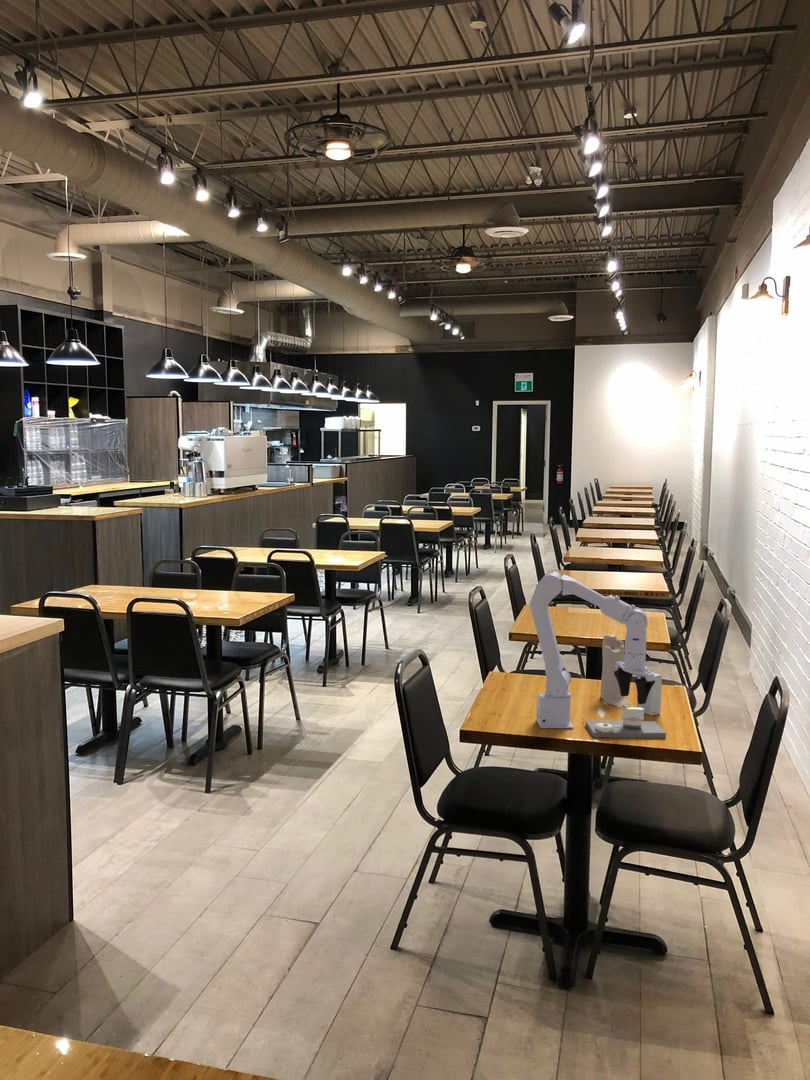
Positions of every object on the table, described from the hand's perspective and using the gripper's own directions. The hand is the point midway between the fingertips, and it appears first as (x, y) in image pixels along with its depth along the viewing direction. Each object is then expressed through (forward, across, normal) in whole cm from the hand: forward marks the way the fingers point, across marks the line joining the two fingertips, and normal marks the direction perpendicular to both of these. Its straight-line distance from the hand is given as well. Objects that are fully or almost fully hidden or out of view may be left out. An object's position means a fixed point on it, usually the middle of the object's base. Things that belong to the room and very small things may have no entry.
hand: (633, 699), depth 237 cm
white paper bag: (+10, +26, -14) cm, 31 cm away
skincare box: (+10, +13, -16) cm, 23 cm away
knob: (+8, 0, 0) cm, 8 cm away
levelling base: (+9, +1, +2) cm, 9 cm away
